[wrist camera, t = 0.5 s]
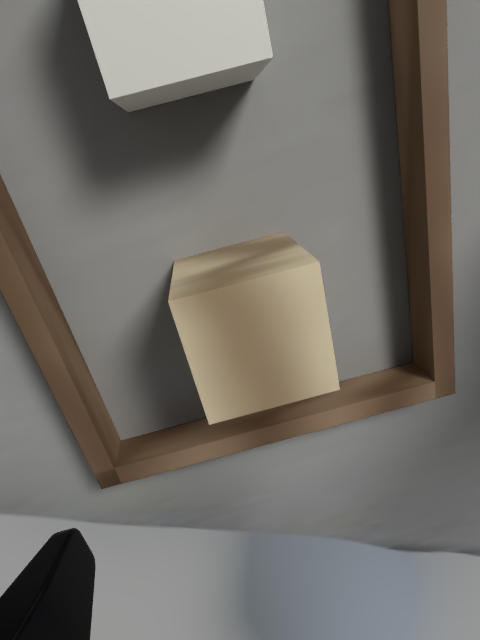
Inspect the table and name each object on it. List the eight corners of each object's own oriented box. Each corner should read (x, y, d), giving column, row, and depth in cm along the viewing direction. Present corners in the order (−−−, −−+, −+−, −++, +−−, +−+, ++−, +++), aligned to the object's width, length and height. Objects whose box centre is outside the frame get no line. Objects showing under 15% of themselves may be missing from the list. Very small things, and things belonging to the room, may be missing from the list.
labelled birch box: (282, 231, 18) (319, 261, 13) (302, 334, 20) (340, 395, 15) (174, 260, 18) (168, 301, 13) (205, 360, 20) (210, 430, 15)
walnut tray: (398, -342, 12) (436, -433, 10) (432, 372, 22) (455, 393, 20) (-205, -194, 11) (-281, -262, 10) (109, 460, 21) (101, 488, 19)
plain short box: (221, -85, 14) (232, -175, 10) (253, 80, 16) (273, 56, 12) (78, -49, 13) (36, -127, 10) (128, 112, 15) (109, 99, 12)
